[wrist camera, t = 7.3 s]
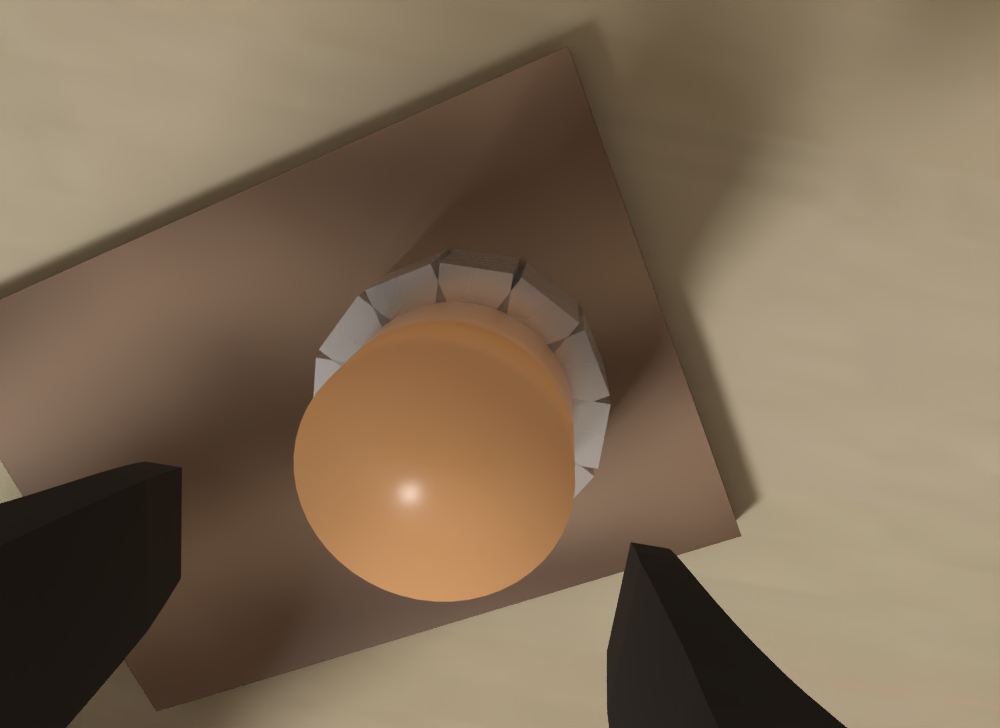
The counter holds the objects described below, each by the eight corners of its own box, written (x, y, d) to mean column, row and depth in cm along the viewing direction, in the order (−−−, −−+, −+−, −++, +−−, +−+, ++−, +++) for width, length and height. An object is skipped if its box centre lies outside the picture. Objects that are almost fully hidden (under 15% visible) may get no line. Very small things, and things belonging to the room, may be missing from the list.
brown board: (735, 522, 21) (741, 535, 21) (168, 693, 25) (156, 711, 24) (567, 50, 18) (567, 46, 17) (-56, 327, 22) (-78, 334, 21)
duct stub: (638, 453, 20) (647, 494, 18) (406, 530, 22) (386, 577, 19) (544, 209, 19) (542, 218, 16) (299, 308, 20) (264, 330, 18)
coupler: (589, 300, 19) (599, 367, 13) (554, 491, 21) (550, 622, 15) (380, 268, 19) (302, 319, 14) (362, 459, 21) (285, 576, 15)
